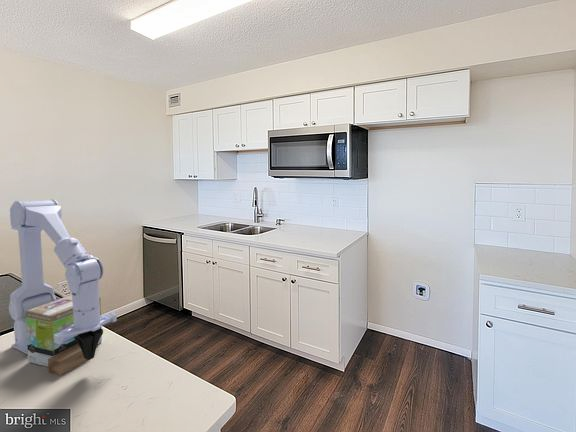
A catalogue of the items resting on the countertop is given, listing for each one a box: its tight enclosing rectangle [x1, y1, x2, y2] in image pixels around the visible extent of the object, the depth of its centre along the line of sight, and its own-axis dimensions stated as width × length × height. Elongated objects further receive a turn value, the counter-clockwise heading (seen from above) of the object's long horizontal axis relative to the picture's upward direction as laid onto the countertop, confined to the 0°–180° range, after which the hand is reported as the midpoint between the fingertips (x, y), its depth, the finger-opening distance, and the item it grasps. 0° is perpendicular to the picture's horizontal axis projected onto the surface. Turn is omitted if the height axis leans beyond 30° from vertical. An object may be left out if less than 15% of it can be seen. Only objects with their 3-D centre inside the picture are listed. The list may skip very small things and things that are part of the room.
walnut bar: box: [47, 344, 88, 377], centre depth 86 cm, size 4×9×4 cm, turn 162°
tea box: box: [26, 294, 103, 368], centre depth 92 cm, size 15×10×15 cm
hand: (89, 357), depth 82 cm, fingers closed
